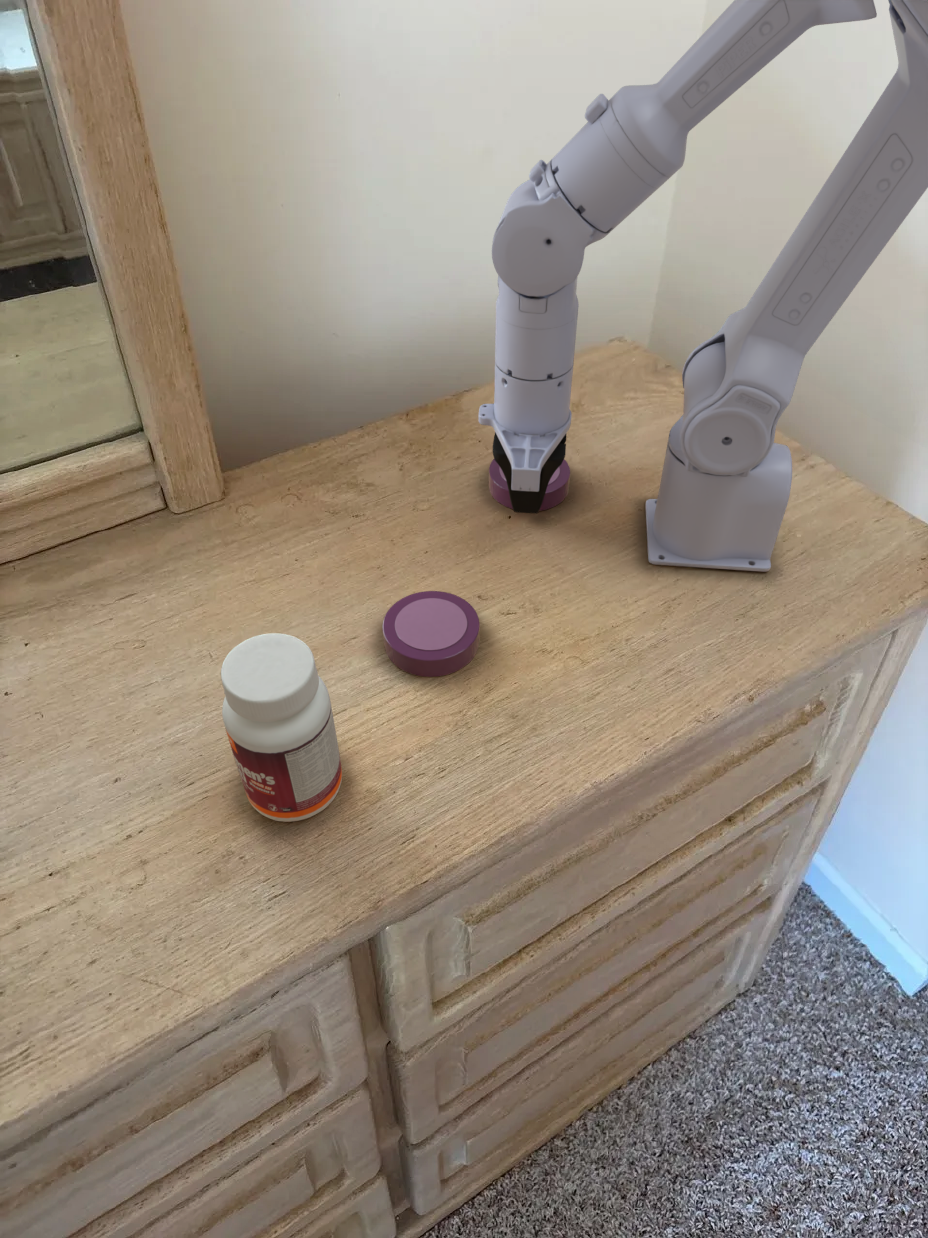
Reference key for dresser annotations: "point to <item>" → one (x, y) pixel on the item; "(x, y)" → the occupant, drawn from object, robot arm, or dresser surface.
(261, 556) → the dresser surface
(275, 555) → the dresser surface
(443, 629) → the purple disc
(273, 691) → the pill bottle
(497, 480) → the purple round puck
